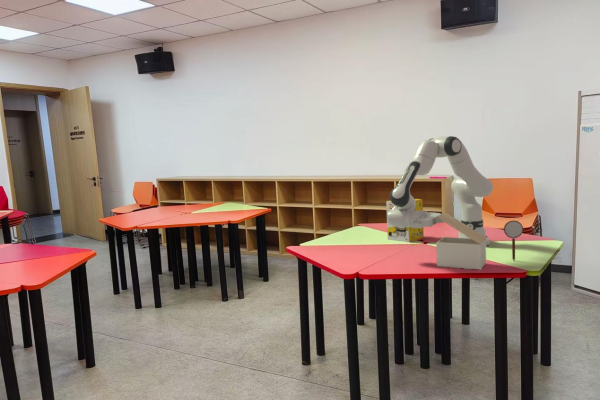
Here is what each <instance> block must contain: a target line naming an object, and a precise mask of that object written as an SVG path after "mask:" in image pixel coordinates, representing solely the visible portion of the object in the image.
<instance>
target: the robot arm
mask: <svg viewBox="0 0 600 400" xmlns="http://www.w3.org/2000/svg"><path fill="white" fill-rule="evenodd" d="M436 158H447V159H448V162H449V165H450V167H451V168H452V171H453V173H454V175H456V176H457V178H454V179H453V180H452V182H451V184H450V187H451V188H450V189H451V191H452V193H453V194H454V195H455V196H456V197H457V199H458V201H459V203H460V208H461V209H460V210H461V220H460V222H462V223H463V224H465V225H467V226H468V227H470V228H471V229H473V230H475V231H476V232H478V233H479V234H481V235H483V236H484V237H486V246H490V245H491V242H490V238H489V237H488V236H486V235H487V234H486V229H485V227H484V219H483V207H482V205H481V203H479V202H478V201H477V199H476V197H477V198H482V197H487V196H490V195H491V194H492V192H493V191H494V190H493V189H494V185H493V182H492V181H491V179H489V178H487V177H486V176H484V175H483V174H482V173H481V172H479V170H478V169H477V168H476V167H475V165H474V163H473V161H472V159H471V156H470V154H469V152H468V150H467V147H466V146H465V145H464V143H463V142H462V141H461V140H460V139H459V138H458V137H457V136H452V135H451V136H439V137H435V138H433V137H432V138H429V139H426V140H423V141H421V143H420V144H419V145H418V148H417V150H416V151H415V153H414V155H413V158H412V159H411V161H410V163H408V165H407V167H406V168H405V170H404V172H403V173H402V175H401V176H400V177H401V178H400V179H399V180H398V183H397V184H396V185H395V186H394V187H393V189H391V191H390V193H389V201H391V202H392V203H393V204H394V205H395V206H394V207H393V208H392V210H390V211H389V212H388V214H387V213H386V219H387V218H388V222H389V223H390V225H392V226H395V227H411V228H423V229H424V228H431V227H433V226H434V225H437V224H440V223H441V224H443V223H445V222H444V221H442V220H441V219H439V218H438V216H440V215H442V214H443V213H440V212H430V211H429V212H428V211H427V210H423V211H415V208H416V201H415V199H416V198H414V197H413V195H412V194H411V187H412V184H413V182H414V181H415V180H416V178H417V176H425V175H428V174H429V173H430V171H432V170H433V167H434V164H435V161H436ZM445 224H446V223H445ZM458 238H469V237H467V236H466V235H464V234H463V233H461V232H459V231H458Z"/></svg>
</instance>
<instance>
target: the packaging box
mask: <svg viewBox="0 0 600 400" xmlns="http://www.w3.org/2000/svg"><path fill="white" fill-rule="evenodd" d="M414 199H415V201H416V208H415V211H424V208H423V206H424V205H423V200H424V199H423V198H422V199H420V198H414ZM385 204H386V215H387V214H388V212H389V211H390V210H392V208H393V207H394V206H395V205H394V204H393V203H392V202H391V201H390V200H386V202H385ZM386 228H387V229H386V230H387V231H386V232H387V240H388V241H389V240H390V241H396V242H404V243H411V242H414V240H415V241H418V240H421V238H422V239H424V235H425V234H424V227H423V228H411V227H395V226H392V225H390V223H389V222H388V218H387V217H386Z"/></svg>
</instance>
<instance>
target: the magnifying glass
mask: <svg viewBox="0 0 600 400" xmlns="http://www.w3.org/2000/svg"><path fill="white" fill-rule="evenodd" d="M522 224H523V223H521V222H519V221H517V220H510V221H507V222H506V223H505V224H504V227H503V232H504V234H505V235H506V237H508V238H511V245H512V246H511V250H512V251H511V253H512V254H511V256H512V257H511V258H512V261H513V262H515V260H516V238H519V237H521V235H522V234H523V232H524V226H523V225H522Z"/></svg>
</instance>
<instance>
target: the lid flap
mask: <svg viewBox="0 0 600 400" xmlns="http://www.w3.org/2000/svg"><path fill="white" fill-rule="evenodd" d="M441 214H442V215H440V216H438V218H439V219H441V220H442V221H444V222H445V224H447V225H449V226H450V227H452V228H453V229H455V230H456V231H458V233H459V232H461V233H463V234H464V235H466V236H467V237H469V238H470V239H472V240H474V241H475V242H477V243H478V244H481V243H482V242H483V241H484V240H485V239H486V237H484V236H483V235H481V234H479V233H478V232H476V231H475V230H473V229H471V228H470V227H468V226H467V225H465V224H463V223H462V222H461V220H458V219H457V218H455V217H453V216H452V215H451V214H449V213H448V212H444V213H441Z"/></svg>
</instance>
